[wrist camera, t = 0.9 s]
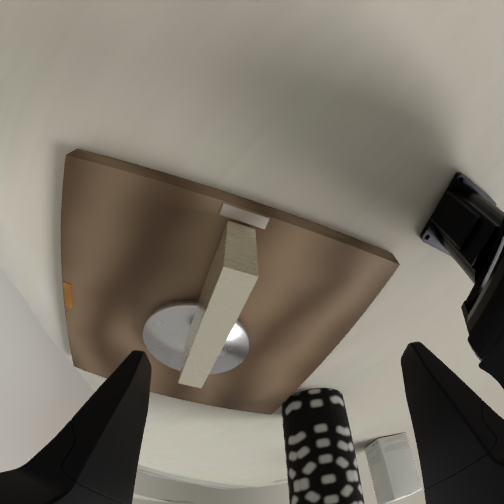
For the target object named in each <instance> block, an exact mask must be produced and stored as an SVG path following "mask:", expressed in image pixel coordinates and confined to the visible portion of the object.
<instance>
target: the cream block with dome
mask: <svg viewBox="0 0 504 504" xmlns="http://www.w3.org/2000/svg"><path fill="white" fill-rule="evenodd" d="M258 277H259V274H258V260H257V245H256V231H255V229H253V228H250V227H247V226H244V225H241V224H238V223H235V222H231V221H228V222H227V224H226V227H225V230H224V232H223V235H222V237H221V240H220V243H219V245H218V248H217V251H216V253H215V256H214V259H213V261H212V264H211V267H210V269H209V272H208V275H207V278H206V280H205V283H204V286H203V289H202V291H201V294H200V297H199V300H198V301H196V300H179V301H173V302H169V303H166V304H164V305H161V306H159V307H158V308H156V309H155V310H154V311H152V312H151V313H150V315H149V316H148V318H147V320H146V323H145V326H144V329H143V341H144V343H145V346H146V348H147V349H148V351H149V352H150V353H151V354H152V355H153V356H154V357H155V358H156V359H157V360H159V361H160V362H161V363H163V364H165V365H167V366H168V367H171V368H173V369H175V370H178V371H180V374H179V381H178V383H180V384H184V385H188V386H192V387H197V388H202V386H203V384H204V383H205V381H206V379H207V377H208V375H210V374H217V373H222V372H226V371H228V370H231V369H233V368H235V367H236V366H238V365H239V364H240V363H241V362H243V360H244V359H245V358H246V356H247V354H248V351H249V335H248V332H247V329H246V327H245V325H244V324H243V323H242V321H241V320H240V319H239V318H238V317H239V315H240V313H241V311H242V309H243V307H244V305H245V303H246V301H247V299H248V297H249V295H250V293H251V291H252V289H253V287H254V285H255V283H256V281H257V279H258Z"/></svg>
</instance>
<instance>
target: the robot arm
mask: <svg viewBox="0 0 504 504" xmlns="http://www.w3.org/2000/svg"><path fill="white" fill-rule="evenodd" d="M459 178H460V180H459ZM426 235H427V236H426ZM425 236H426V237H425ZM420 238H421V239H422V240H423V242H425V243H427V244H429V245H431V246H433V247H435V248H437V249H438V250H440V251H442V252H444V253H446V254H448V255H450V256H452V257H453V258H454V259H455V261H456V262H457V263H458V264H459V265H460V267H461V268H462V269H463V270H464V271H465V273H466V274H467V275H468V276H469V278H470V279H471V280H472V281H473V283H474V286H473V288H472V290H471V292H470V294H469V296H468V298H467V300H466V301H464V303H463V305H462V306H461V308H462V311H463V315H464V318H465V322H466V325H467V329H468V333H469V337H468V342H469V344H470V346H471V348H472V350H473V351H474V352H475V354H476V356H477V357H478V358H479V360H481V362H480V363H479V367H480V368H481V369H482V370H484V371H486V372H487V373H489V374H490V375H492V376H493V377H494V378H495V379H496V380H497V381H498V382H499V383H500V385H501V386H502V388H503V389H504V212H503V211H502V210H500V209H499V208H498V207H496V203H495V202H494V201H493V200H492V199H491V198H490V197H489V196H488V195H487V194H486V193H485V192H483V191H482V190H481V189H480V188H479V187H478V186H477V185H476V184H474V183H473V182H472V181H471V180H470V179H468V178H467V177H466V176H465V175H464V174H462V173H460V172H457V173H456V174H455V176H454V177H453V179H452V181H451V183H450V185H449V187H448V189H447V190H446V192H445V194H444V196H443V197H442V199H441V201H440V203H439V204H438V206H437V208H436V210H435V211H434V213H433V215H432V216H431V218H430V220H429V221H428V223H427V224H426V226H425V228H424V229H423V231H422V232H421V235H420ZM401 366H402V372H403V379H404V385H405V392H406V398H407V403H408V407H409V411H410V415H411V420H412V424H413V429H414V433H415V438H416V443H417V448H418V454H419V459H420V465H421V470H422V477H423V483H424V489H425V490H424V492H425V500H426V504H504V419H502V418H501V417H500V416H499V415H498V414H497V413H495V412H494V411H493V410H492V409H491V408H490V407H489V406H488V405H487V404H486V403H485V402H484V401H482V399H481V398H480V397H479V396H478V395H477V394H476V393H475V392H474V391H473V390H471V389H470V388H469V387H468V386H467V385H466V384H465V383H464V382H463V381H462V380H461V379H460V378H459V377H458V376H457V375H456V374H455V373H454V372H452V371H451V370H450V369H449V368H448V367H447V366H446V365H445V364H444V363H443V362H442V361H441V360H440V359H438V358H437V357H436V356H435V355H434V354H433V353H432V352H431V351H430V350H429V349H427V348H426V347H425V346H424V345H423V344H422V343H420V342H412V343H409V344H408V346H407V348H406V349H405V351H404V353H403V355H402V357H401ZM151 373H152V367H151V364H150V361H149V359H148V357H147V354H146V352H144V351H140V350H133V351H132V352H131V353H130V354H129V355H128V356H127V357H126V358H125V359H124V360H123V362H122V363H121V364H120V365H119V366H118V367H117V368H116V369H115V370H114V372H113V373H112V374H111V375H110V376H109V377H108V378H107V379H106V380H105V382H104V383H103V384H102V385H101V386H100V387H99V388H98V389H97V391H96V392H95V393H94V394H93V395H92V396H91V397H90V398H89V400H88V401H87V402H86V403H85V404H84V405H83V407H82V408H81V409H80V410H79V411H78V412H77V413H76V414H75V415H74V417H73V418H72V420H70V421H69V422H68V423H67V425H66V426H65V427H64V428H63V429H62V430H61V431H60V432H59V433H58V434H57V436H56V437H55V438H53V439H52V440H51V441H50V442H49V443H48V444H47V445H46V446H45V447H44V448H43V449H42V450H41V451H40V452H38V453H37V454H36V455H35V456H34V457H33V458H32V459H31V460H30V461H29V462H27V463H26V464H25V465H23V466H21V467H20V468H17V469H14V470H10V471H6V472H1V473H0V504H132V499H133V492H134V485H135V478H136V472H137V466H138V460H139V454H140V449H141V443H142V438H143V433H144V427H145V422H146V417H147V412H148V404H149V393H150V382H151Z"/></svg>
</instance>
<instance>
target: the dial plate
mask: <svg viewBox="0 0 504 504" xmlns="http://www.w3.org/2000/svg"><path fill="white" fill-rule="evenodd" d="M228 221H231V222H235V223H238V224H241V225H244V226H247V227H250V228H253V229H255V231H256V245H257V260H258V274H259V277H258V279H257V281H256V283H255V285H254V287H253V289H252V291H251V293H250V295H249V297H248V299H247V301H246V303H245V305H244V307H243V309H242V311H241V313H240V315H239V317H238V318H239V319H240V320H241V321H242V323H243V324H244V325H245V327H246V329H247V332H248V335H249V351H248V354H247V356H246V358H245V359H244V360H243V362H241V363H240V364H239V365H238V366H236V367H235V368H233V369H231V370H228V371H226V372H222V373H217V374H210V375H208V377H207V379H206V381H205V383H204V384H203V386H202V388H197V387H192V386H188V385H184V384H180V383H178V381H179V374H180V371H178V370H175V369H173V368H171V367H168V366H167V365H165V364H163V363H161V362H160V361H159V360H157V359H156V358H155V357H154V356H153V355H152V354H151V353H150V352H149V351H148V349H147V348H146V346H145V343H144V341H143V329H144V326H145V323H146V320H147V318H148V316H149V315H150V313H151V312H152V311H154V310H155V309H156V308H158V307H159V306H161V305H164V304H166V303H169V302H173V301H179V300H196V301H198V300H199V297H200V294H201V291H202V289H203V286H204V283H205V280H206V278H207V275H208V272H209V269H210V267H211V264H212V261H213V259H214V256H215V253H216V251H217V248H218V245H219V243H220V240H221V237H222V235H223V232H224V230H225V227H226V224H227V222H228ZM61 261H62V280H63V293H64V304H65V313H66V321H67V328H68V335H69V342H70V348H71V353H72V359H73V364H74V366H75V367H77V368H80V369H83V370H85V371H88V372H91V373H93V374H96V375H99V376H102V377H105V378H108V377H109V376H110V375H111V374H112V373H113V372H114V370H115V369H116V368H117V367H118V366H119V365H120V364H121V363H122V362H123V360H124V359H125V358H126V357H127V356H128V355H129V354H130V353H131V352H132V351H133V350H140V351H144V352H146V354H147V357H148V359H149V361H150V364H151V367H152V373H151V382H150V392H154V393H158V394H162V395H166V396H170V397H174V398H178V399H182V400H187V401H191V402H196V403H201V404H206V405H211V406H217V407H222V408H228V409H234V410H241V411H248V412H255V413H264V414H272V413H273V412H274V411H275V410H276V409H277V408H278V407H279V406H280V405H281V404H282V403H283V402H284V401H285V400H286V399H287V398H288V397H289V396H290V395H291V394H292V393H293V392H294V391H295V390H296V389H297V388H298V387H299V386H300V385H301V384H302V383H303V382H304V381H305V380H306V379H307V378H308V377H309V376H310V375H311V374H312V373H313V372H314V370H315V369H316V368H317V367H318V366H319V365H320V364H321V363H322V362H323V361H324V360H325V358H326V357H327V356H328V355H329V354H330V353H331V352H332V351H333V349H334V348H335V347H336V346H337V345H338V344H339V342H340V341H341V340H342V339H343V338H344V337H345V335H346V334H347V333H348V332H349V331H350V329H351V328H352V327H353V326H354V325H355V323H356V322H357V321H358V320H359V318H360V317H361V316H362V315H363V313H364V312H365V311H366V310H367V308H368V307H369V306H370V304H371V303H372V302H373V301H374V299H375V298H376V297H377V295H378V294H379V293H380V291H381V290H382V289H383V287H384V286H385V285H386V283H387V282H388V280H389V279H390V278H391V276H392V275H393V273H394V272H395V271H396V269H397V268H398V266H399V265H400V264H399V263H398V261H397V260H396V258H395V257H394V255H393V254H392V253H389V252H387V251H384V250H382V249H379V248H377V247H374V246H372V245H369V244H367V243H364V242H362V241H359V240H357V239H354V238H352V237H349V236H347V235H344V234H341V233H339V232H336V231H334V230H331V229H328V228H326V227H323V226H320V225H318V224H315V223H312V222H310V221H307V220H304V219H301V218H299V217H296V216H293V215H290V214H288V213H285V212H282V211H279V210H276V209H273V208H271V207H268V206H265V205H262V204H259V203H256V202H253V201H250V200H247V199H244V198H241V197H238V196H235V195H232V194H229V193H226V192H223V191H220V190H217V189H214V188H211V187H208V186H205V185H202V184H198V183H195V182H192V181H189V180H186V179H182V178H179V177H176V176H172V175H169V174H166V173H162V172H159V171H156V170H152V169H149V168H145V167H142V166H138V165H135V164H131V163H128V162H124V161H121V160H117V159H113V158H110V157H106V156H102V155H98V154H95V153H91V152H87V151H83V150H79V149H76V150H74V151H72V152H71V153H69V154H67V155H66V159H65V168H64V179H63V192H62V211H61Z"/></svg>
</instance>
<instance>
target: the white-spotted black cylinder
mask: <svg viewBox="0 0 504 504" xmlns="http://www.w3.org/2000/svg"><path fill="white" fill-rule="evenodd" d="M282 418H283V429H284V440H285V452H286V463H287V475H288V487H289V499H290V504H364V499H363V493H362V487H361V482H360V476H359V471H358V466H357V460H356V455H355V450H354V445H353V441H352V436H351V431H350V426H349V422H348V417H347V413H346V408H345V404H344V400H343V396H342V394H341V393H340V392H339V391H337V390H334V389H313V390H308V391H304V392H300V393H298V394H295V395H293V396H291V397H289V398H288V399H286V400H285V401H284V402H283V404H282Z"/></svg>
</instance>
